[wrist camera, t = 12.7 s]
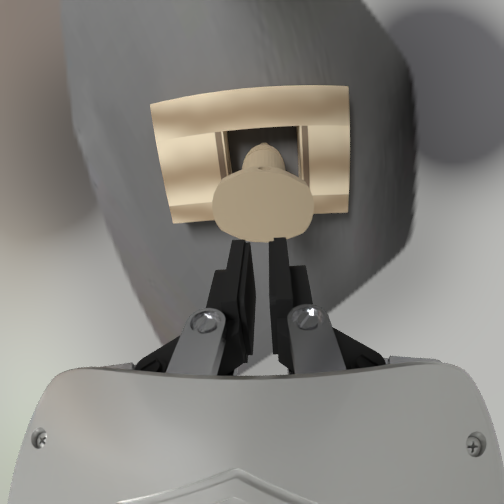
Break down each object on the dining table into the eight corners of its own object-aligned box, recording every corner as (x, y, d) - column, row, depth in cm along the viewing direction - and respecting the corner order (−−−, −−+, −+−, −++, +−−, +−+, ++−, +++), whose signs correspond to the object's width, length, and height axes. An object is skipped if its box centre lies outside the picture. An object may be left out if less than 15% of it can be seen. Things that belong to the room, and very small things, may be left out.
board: (159, 102, 27) (149, 104, 24) (340, 86, 25) (348, 86, 23) (180, 212, 34) (173, 223, 32) (341, 202, 33) (347, 212, 30)
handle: (291, 177, 31) (309, 243, 19) (235, 175, 32) (214, 240, 19) (293, 136, 29) (317, 174, 16) (235, 134, 29) (210, 171, 16)
